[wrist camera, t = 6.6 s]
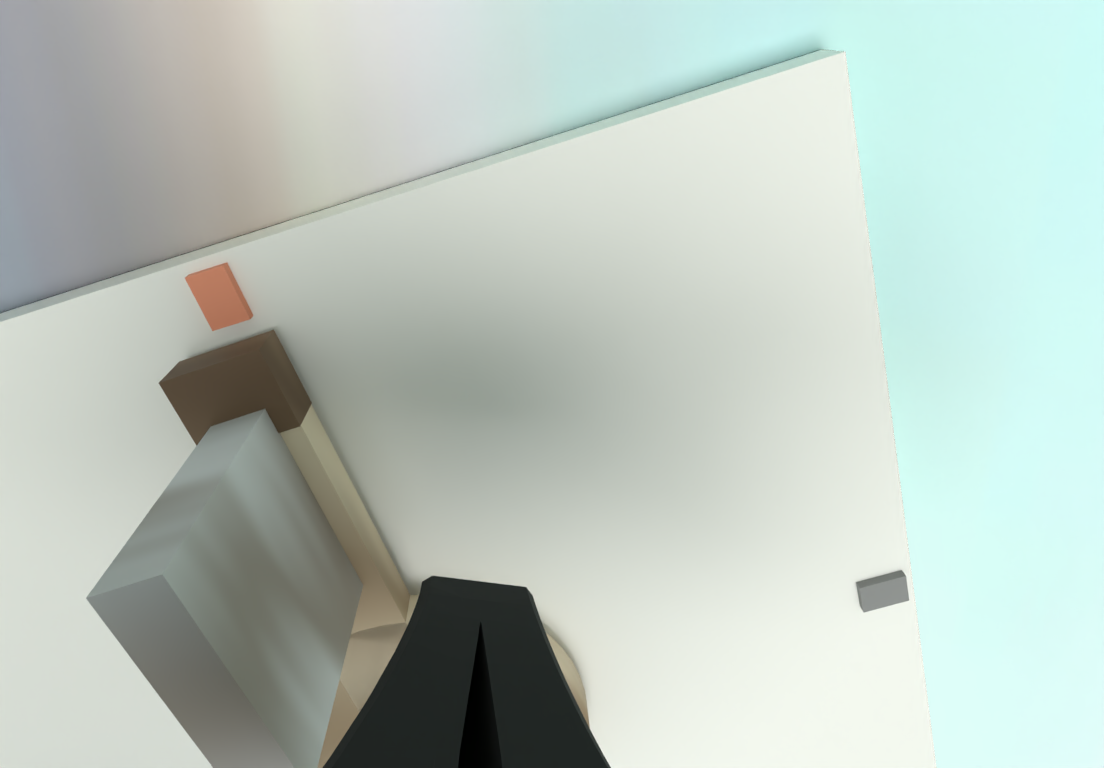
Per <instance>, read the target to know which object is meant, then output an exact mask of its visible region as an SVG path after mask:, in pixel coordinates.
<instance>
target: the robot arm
mask: <svg viewBox="0 0 1104 768" xmlns="http://www.w3.org/2000/svg"><path fill="white" fill-rule="evenodd" d="M323 768H611V767H610V765H609V763H608V762H607V760H606V758H605V756H604V755H603V753H602V751H601V749H600V747H599V745H598V743H597V741H596V740H595V738H594V736H593V734H592V732H591V730H590V728H589V726H588V724H587V722H586V720H585V718H584V716H583V714H582V712H581V710H580V708H579V706H578V704H577V702H576V700H575V698H574V696H573V694H572V692H571V690H570V688H569V686H568V683H567V681H566V679H565V677H564V675H563V672H562V670H561V668H560V666H559V663H558V661H557V659H556V656H555V654H554V652H553V649H552V647H551V645H550V642H549V640H548V637H547V635H546V632H545V629H544V627H543V624H542V621H541V619H540V616H539V613H538V610H537V607H536V604H535V601H534V598H533V595H532V594H531V593H530V591H529V590H528V589H527V587H523V586H514V585H506V584H498V583H490V582H481V581H473V580H465V579H457V578H449V577H440V576H431V577H429V578H427V579H426V580H424V581H422V584H421V589H420V594H419V597H418V600H417V603H416V606H415V608H414V611H413V614H412V616H411V618H410V621H409V623H408V625H407V627H406V630H405V632H404V634H403V636H402V638H401V640H400V642H399V644H398V646H397V648H396V650H395V652H394V654H393V656H392V657H391V659H390V661H389V663H388V664H387V666H386V668H385V670H384V672H383V673H382V675H381V677H380V679H379V680H378V682H377V684H376V686H375V688H374V689H373V691H372V693H371V695H370V696H369V698H368V700H367V701H366V703H365V704H364V706H363V708H362V709H361V711H360V712H359V714H358V715H357V717H356V718H355V720H354V721H353V723H352V724H351V726H350V727H349V729H348V730H347V732H346V733H345V735H344V737H343V738H342V740H341V741H340V743H339V744H338V746H337V747H336V749H335V750H334V752H333V753H332V755H331V756H330V758H329V759H328V761H327V762H326V763H325V765H324V766H323Z"/></svg>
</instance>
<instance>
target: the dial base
mask: <svg viewBox="0 0 1104 768" xmlns="http://www.w3.org/2000/svg"><path fill="white" fill-rule="evenodd" d="M271 330H274V331H275V333H276V334H277V336H278V338H279V340H280V342H281V344H282V346H283V348H284V350H285V352H286V354H287V356H288V358H289V360H290V361H291V363H292V365H293V367H294V369H295V371H296V373H297V375H298V377H299V379H300V381H301V383H302V385H303V387H304V389H305V390H306V392H307V394H308V396H309V398H310V400H311V402H312V406H313V408H314V410H315V412H316V414H317V416H318V418H319V420H320V422H321V424H322V426H323V428H324V430H325V432H326V433H327V435H328V437H329V439H330V441H331V443H332V445H333V447H334V449H335V451H336V453H337V455H338V457H339V459H340V460H341V462H342V464H343V466H344V468H345V470H346V472H347V474H348V476H349V478H350V480H351V482H352V484H353V486H354V487H355V489H356V491H357V493H358V495H359V497H360V499H361V501H362V503H363V505H364V507H365V509H366V511H367V513H368V514H369V516H370V518H371V520H372V522H373V524H374V526H375V528H376V530H377V532H378V534H379V536H380V538H381V540H382V541H383V543H384V545H385V547H386V549H387V551H388V553H389V555H390V557H391V559H392V561H393V563H394V565H395V567H396V568H397V570H398V572H399V574H400V576H401V578H402V580H403V582H404V584H405V586H406V588H407V590H408V592H409V594H410V595H419V594H420V589H421V584H422V581H424V580H426V579H427V578H429V577H431V576H440V577H449V578H457V579H465V580H473V581H481V582H490V583H498V584H506V585H514V586H523V587H527V589H528V590H529V591H530V593H531V594H532V595H533V598H534V601H535V604H536V607H537V610H538V613H539V616H540V619H541V621H542V624H543V627H544V629H545V632H546V633H547V634H548V635H550V636H551V637H552V638H553V639H554V640H555V641H556V642H557V643H558V644H559V645H560V646H561V647H562V648H563V650H564V651H565V652H566V654H567V655H568V656H569V658H570V659H571V660H572V662H573V663H574V665H575V667H576V669H577V671H578V673H579V675H580V677H581V680H582V683H583V686H584V689H585V694H586V701H587V709H588V717H589V726H590V730H591V732H592V734H593V736H594V738H595V740H596V741H597V743H598V745H599V747H600V749H601V751H602V753H603V755H604V756H605V758H606V760H607V762H608V763H609V765H610V767H611V768H936V760H935V753H934V745H933V737H932V729H931V721H930V713H929V705H928V697H927V690H926V682H925V674H924V666H923V658H922V650H921V642H920V635H919V627H918V619H917V611H916V603H915V595H914V587H913V580H912V572H911V564H910V556H909V548H908V540H907V532H906V524H905V517H904V509H903V501H902V493H901V485H900V477H899V469H898V462H897V454H896V446H895V438H894V430H893V422H892V414H891V406H890V399H889V391H888V383H887V375H886V367H885V359H884V351H883V344H882V336H881V328H880V320H879V312H878V304H877V296H876V288H875V281H874V273H873V265H872V257H871V249H870V241H869V233H868V226H867V218H866V210H865V202H864V194H863V186H862V178H861V170H860V163H859V155H858V147H857V139H856V131H855V123H854V115H853V108H852V100H851V92H850V84H849V76H848V68H847V60H846V52H845V51H834V50H823V49H822V50H819V51H816V52H813V53H810V54H806V55H803V56H800V57H797V58H794V59H791V60H788V61H785V62H782V63H778V64H775V65H772V66H769V67H766V68H763V69H760V70H757V71H754V72H750V73H747V74H744V75H741V76H738V77H735V78H732V79H729V80H725V81H722V82H719V83H716V84H713V85H710V86H707V87H704V88H701V89H697V90H694V91H691V92H688V93H685V94H682V95H679V96H676V97H673V98H669V99H666V100H663V101H660V102H657V103H654V104H651V105H648V106H645V107H641V108H638V109H635V110H632V111H629V112H626V113H623V114H620V115H616V116H613V117H610V118H607V119H604V120H601V121H598V122H595V123H592V124H588V125H585V126H582V127H579V128H576V129H573V130H570V131H567V132H564V133H560V134H557V135H554V136H551V137H548V138H545V139H542V140H539V141H536V142H532V143H529V144H526V145H523V146H520V147H517V148H514V149H511V150H507V151H504V152H501V153H498V154H495V155H492V156H489V157H486V158H483V159H479V160H476V161H473V162H470V163H467V164H464V165H461V166H458V167H455V168H451V169H448V170H445V171H442V172H439V173H436V174H433V175H430V176H426V177H423V178H420V179H417V180H414V181H411V182H408V183H405V184H402V185H398V186H395V187H392V188H389V189H386V190H383V191H380V192H377V193H374V194H370V195H367V196H364V197H361V198H358V199H355V200H352V201H349V202H346V203H342V204H339V205H336V206H333V207H330V208H327V209H324V210H321V211H317V212H314V213H311V214H308V215H305V216H302V217H299V218H296V219H293V220H289V221H286V222H283V223H280V224H277V225H274V226H271V227H268V228H265V229H261V230H258V231H255V232H252V233H249V234H246V235H243V236H240V237H236V238H233V239H230V240H227V241H224V242H221V243H218V244H215V245H212V246H208V247H205V248H202V249H199V250H196V251H193V252H190V253H187V254H184V255H180V256H177V257H174V258H171V259H168V260H165V261H162V262H159V263H156V264H152V265H149V266H146V267H143V268H140V269H137V270H134V271H131V272H127V273H124V274H121V275H118V276H115V277H112V278H109V279H106V280H103V281H99V282H96V283H93V284H90V285H87V286H84V287H81V288H78V289H75V290H71V291H68V292H65V293H62V294H59V295H56V296H53V297H50V298H47V299H43V300H40V301H37V302H34V303H31V304H28V305H25V306H22V307H18V308H15V309H12V310H9V311H6V312H3V313H0V768H213V767H212V766H211V764H210V763H209V762H208V760H207V759H206V758H205V756H204V755H203V754H202V752H201V751H200V750H199V748H198V747H197V746H196V744H195V743H194V742H193V740H192V739H191V738H190V736H189V735H188V734H187V732H186V731H185V730H184V728H183V727H182V726H181V724H180V723H179V722H178V720H177V719H176V718H175V716H174V715H173V714H172V712H171V711H170V710H169V708H168V707H167V706H166V704H165V703H164V702H163V700H162V699H161V698H160V696H159V695H158V694H157V692H156V691H155V690H154V688H153V687H152V686H151V684H150V683H149V682H148V680H147V679H146V678H145V676H144V675H143V674H142V672H141V671H140V670H139V668H138V667H137V666H136V664H135V663H134V662H133V660H132V659H131V658H130V656H129V655H128V654H127V652H126V651H125V650H124V648H123V647H122V646H121V644H120V643H119V642H118V640H117V639H116V638H115V636H114V635H113V634H112V632H111V631H110V630H109V628H108V627H107V626H106V624H105V623H104V622H103V620H102V619H101V618H100V616H99V615H98V614H97V612H96V611H95V610H94V608H93V607H92V606H91V604H90V603H89V602H88V600H87V599H86V597H87V596H88V595H89V593H90V592H91V590H92V589H93V588H94V586H95V585H96V584H97V582H98V581H99V579H100V578H101V577H102V575H103V574H104V573H105V571H106V570H107V568H108V567H109V566H110V564H111V563H112V562H113V560H114V559H115V557H116V556H117V555H118V553H119V552H120V551H121V549H122V548H123V546H124V545H125V544H126V542H127V541H128V540H129V538H130V537H131V535H132V534H133V533H134V531H135V530H136V529H137V527H138V526H139V524H140V523H141V522H142V520H143V519H144V518H145V516H146V515H147V513H148V512H149V511H150V509H151V508H152V507H153V505H154V504H155V502H156V501H157V500H158V498H159V497H160V496H161V494H162V493H163V491H164V490H165V489H166V487H167V486H168V485H169V483H170V482H171V480H172V479H173V478H174V476H175V475H176V474H177V472H178V471H179V469H180V468H181V467H182V465H183V464H184V463H185V461H186V460H187V458H188V457H189V456H190V454H191V453H192V452H193V450H194V449H195V447H196V444H195V442H194V441H193V439H192V438H191V436H190V434H189V433H188V431H187V429H186V428H185V426H184V424H183V423H182V421H181V419H180V418H179V416H178V414H177V413H176V411H175V409H174V408H173V406H172V405H171V403H170V401H169V400H168V398H167V396H166V395H165V393H164V391H163V390H162V388H161V386H160V385H159V382H160V381H161V380H162V379H163V378H164V377H165V376H166V375H167V374H168V373H169V372H170V371H171V370H172V368H173V367H174V366H175V365H176V364H177V363H178V362H179V361H182V360H185V359H188V358H191V357H194V356H197V355H200V354H203V353H206V352H209V351H212V350H215V349H218V348H221V347H224V346H227V345H230V344H233V343H236V342H239V341H242V340H245V339H247V338H250V337H253V336H256V335H259V334H262V333H265V332H268V331H271Z"/></svg>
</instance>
